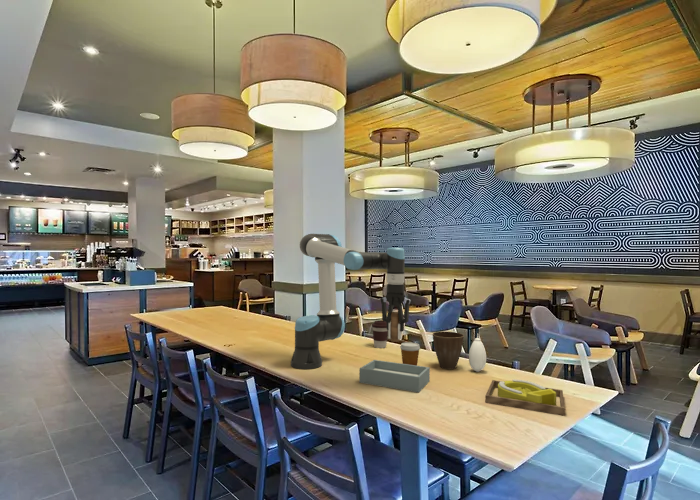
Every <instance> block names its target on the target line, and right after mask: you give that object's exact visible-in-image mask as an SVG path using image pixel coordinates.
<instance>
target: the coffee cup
mask: <svg viewBox="0 0 700 500" xmlns="http://www.w3.org/2000/svg"><path fill="white" fill-rule="evenodd" d="M371 327H372V339H373V346H374V348H377V349H385V348H387V342H388V337H389V330H387V323H386V322H385V321H383V320H375V321H374V323H371Z"/></svg>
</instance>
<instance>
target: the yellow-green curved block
mask: <svg viewBox="0 0 700 500" xmlns="http://www.w3.org/2000/svg"><path fill="white" fill-rule="evenodd" d="M499 381H500V380H499ZM546 388H547V387H545V388H544V386H543V385H540V384H538V383H535V382H532V381H528V380H523V379H515V378H514V379H512V380H505V381H504V380H503V381H500V382H499V384H498V388H497V397H503V398H510V399H516V400H522V401H529V402H535V403H541V404H548V405H554V406H557V396H556V392H555V391H553V390H552V389H553V388H552V389H546Z"/></svg>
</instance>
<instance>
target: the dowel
mask: <svg viewBox="0 0 700 500" xmlns="http://www.w3.org/2000/svg"><path fill="white" fill-rule="evenodd" d="M399 323H400V321H399V315H398V311H393V312H391V338H390V341H391V342H396V343H397V342H400V340H399V339H398V324H399Z"/></svg>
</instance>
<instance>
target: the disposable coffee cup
mask: <svg viewBox="0 0 700 500" xmlns="http://www.w3.org/2000/svg"><path fill="white" fill-rule="evenodd" d="M399 349H400V351H401V352H400V353H401V361H402V362H401V364H409V365H416V366H418V362H419V361H418V360H419V354H420V350H421V347H420V344H419V343H416V342H402V343H401V344H400V346H399Z"/></svg>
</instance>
